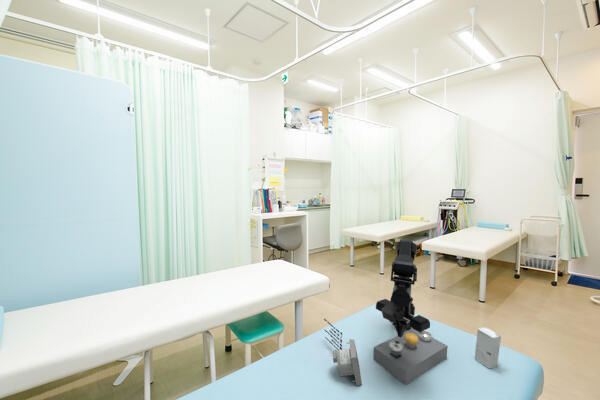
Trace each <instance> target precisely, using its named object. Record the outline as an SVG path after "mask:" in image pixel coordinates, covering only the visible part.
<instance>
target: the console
mask: <svg viewBox="0 0 600 400" xmlns="http://www.w3.org/2000/svg"><path fill="white" fill-rule="evenodd" d="M406 333H413V334H415V335H416V336H417V337H418V344H417V345H416V348H415V349H414V350H411V349H409V348H408V347H406V341H405V334H406ZM392 340H396V341H399V342H401V343H402V345H403V349H402V353H401V356H400V357H399V358H397V359H396V358H395V357H393V356H392V355H391V350H390V349H389V345H390V341H392ZM447 358H448V345H447V344H445V343H444V342H442V341H439V340H438V339H436V338H434V337H432V336H431V342H424V341H421V340H420V339H419V332H418V331H416V330H414V329H413V328H410V329H408V330H405V332H404V334H403V335H402V337H398V335H396V336H394V337H391V338H390V339H388V340H386V341H383V342H381V343H379V344H377V345H375V346H374V347H373V361H374V362H376V363H377V364H378V365H380V366H381V367H382V368H384V369H385V370H386V371H387V372H389V373H390V374H391V375H392V376H394V377H395V378H396V379H398V380H399V381H400V382H401V383H402V384H404V385H407V384H409V383H411V382H412V381H414V380H416V379H417V378H418V377H420V376H422V375H423V374H424V373H426V372H428V371H429V370H431V369H432V368H434V367H436V366H437V365H438V364H440V363H442V362H443V361H445V360H446V359H447Z"/></svg>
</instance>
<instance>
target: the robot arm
mask: <svg viewBox="0 0 600 400" xmlns="http://www.w3.org/2000/svg"><path fill="white" fill-rule="evenodd" d="M417 248H418V245H417V244H416V243H415V242H414V240H411V239H405V238H401V239H399V240H398V241H397V242H395V254H397V255H396V256H395V258H394V261H392V263H391V272H390V282H393V287H392V291H391V292H392V293H391V296H390V300H389V299H386V298H383V299H380V300H378V301H377V302H376V303H375V310H378V311H380V312H381V314H382V318H383V319H385V320H388V321H389V322H390V323H392V325H394V328H395V330H396V333H397V336H398V337H402V335H403V334H404V332H406V331H408V330H410V329H414V330H416V331H418V332H422V331H426V330H428V329H430V328H431V322H430V319H429V318H427V317H425V316H422V315H420V314H418V315H416V316H415V314H416V313H415V311H416V306H415V304H414V303H413V301H414V298H413V297H412V285H415V282H417V278H418V268H417V265H416V264H414V261H415V256H417Z"/></svg>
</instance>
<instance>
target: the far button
mask: <svg viewBox="0 0 600 400" xmlns="http://www.w3.org/2000/svg"><path fill="white" fill-rule="evenodd" d="M431 337H432V334H431V333H430V332H429V331H426V330H424V331H422V332H419V339H420V340H421V341H424V342H431Z"/></svg>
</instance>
